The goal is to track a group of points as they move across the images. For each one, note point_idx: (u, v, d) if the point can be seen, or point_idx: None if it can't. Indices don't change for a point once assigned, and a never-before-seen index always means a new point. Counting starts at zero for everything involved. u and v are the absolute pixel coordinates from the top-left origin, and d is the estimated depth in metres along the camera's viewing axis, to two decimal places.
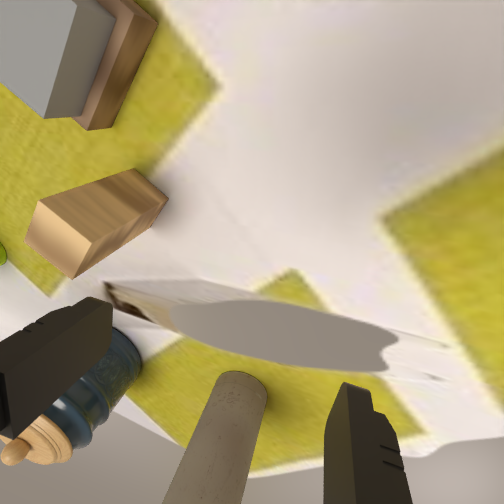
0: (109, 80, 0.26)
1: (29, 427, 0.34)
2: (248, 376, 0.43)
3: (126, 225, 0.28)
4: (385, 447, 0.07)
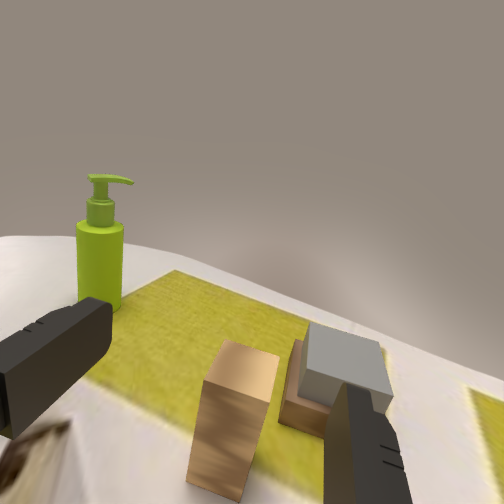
0: None
1: None
2: None
3: (249, 444, 0.23)
4: (385, 447, 0.07)
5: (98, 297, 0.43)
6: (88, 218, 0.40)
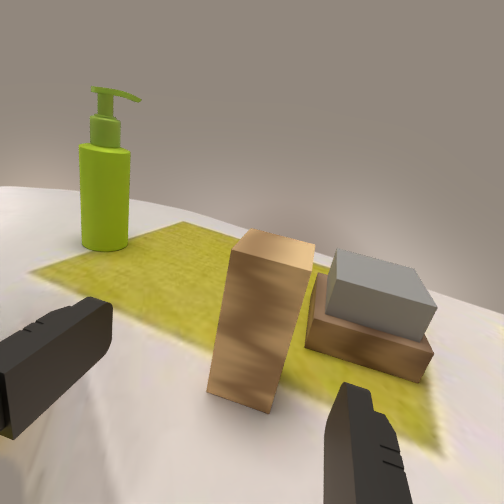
0: (369, 336, 0.28)
1: None
2: None
3: (284, 332, 0.19)
4: (385, 447, 0.07)
5: (103, 229, 0.39)
6: (91, 136, 0.36)
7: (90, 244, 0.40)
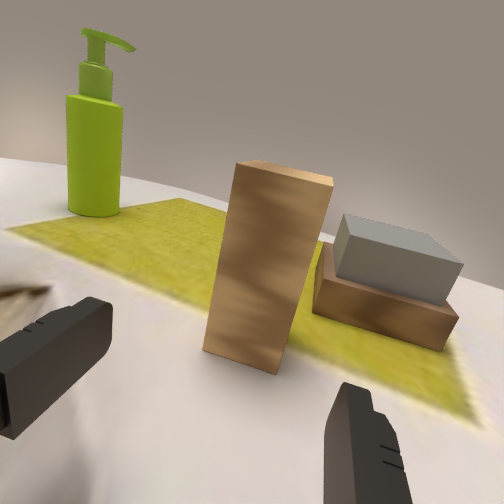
0: (385, 299, 0.25)
1: None
2: None
3: (298, 269, 0.16)
4: (385, 447, 0.07)
5: (92, 191, 0.36)
6: (80, 85, 0.33)
7: (77, 208, 0.37)
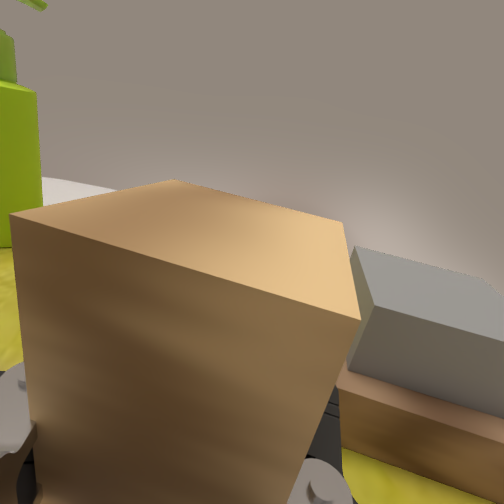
0: (431, 424, 0.14)
1: None
2: None
3: None
4: None
5: None
6: None
7: None
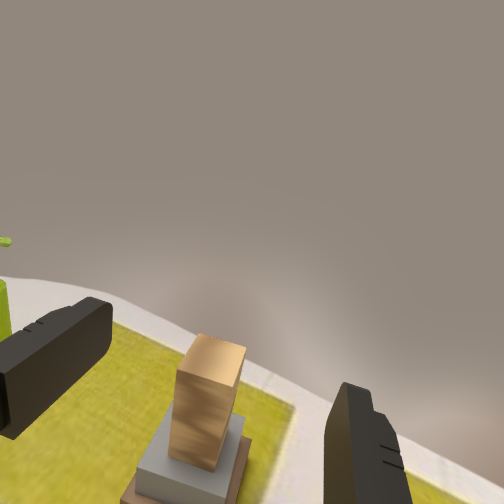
0: None
1: None
2: None
3: (219, 422, 0.27)
4: (385, 447, 0.07)
5: None
6: None
7: None
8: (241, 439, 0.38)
